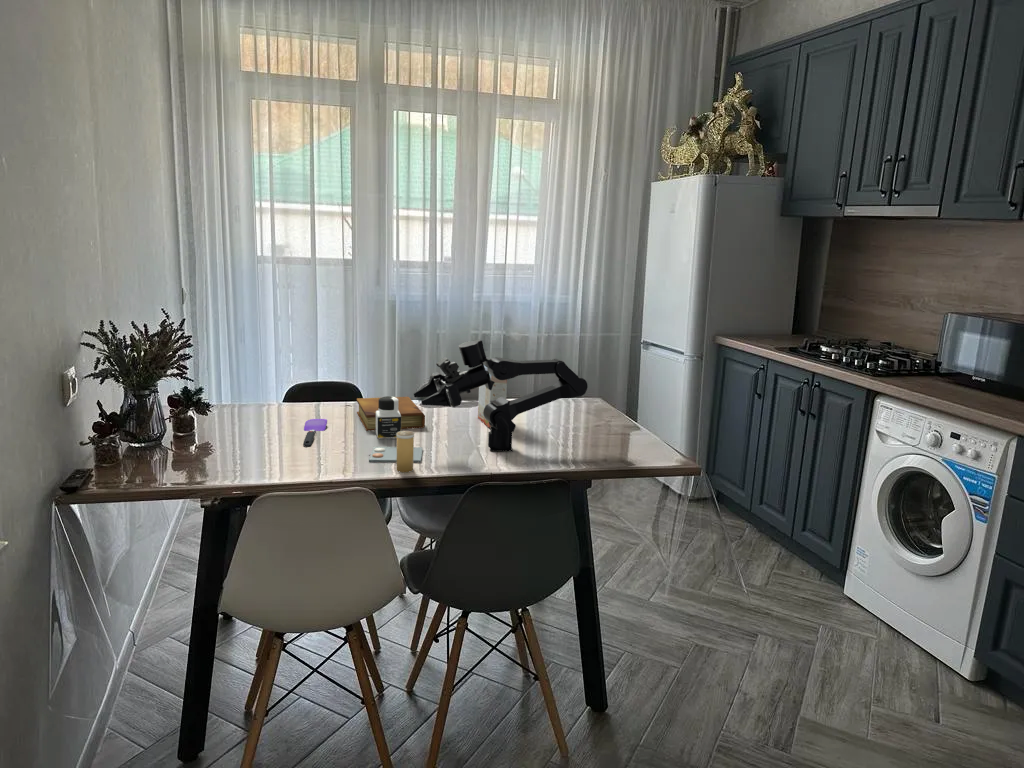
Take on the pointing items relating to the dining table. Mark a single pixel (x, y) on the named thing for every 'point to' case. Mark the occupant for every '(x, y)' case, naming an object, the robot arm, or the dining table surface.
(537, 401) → the robot arm
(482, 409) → the cracker box
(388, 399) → the medicine bottle
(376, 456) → the card
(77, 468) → the dining table surface
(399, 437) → the amber cup
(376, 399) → the diary
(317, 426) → the spatula
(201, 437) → the dining table surface
